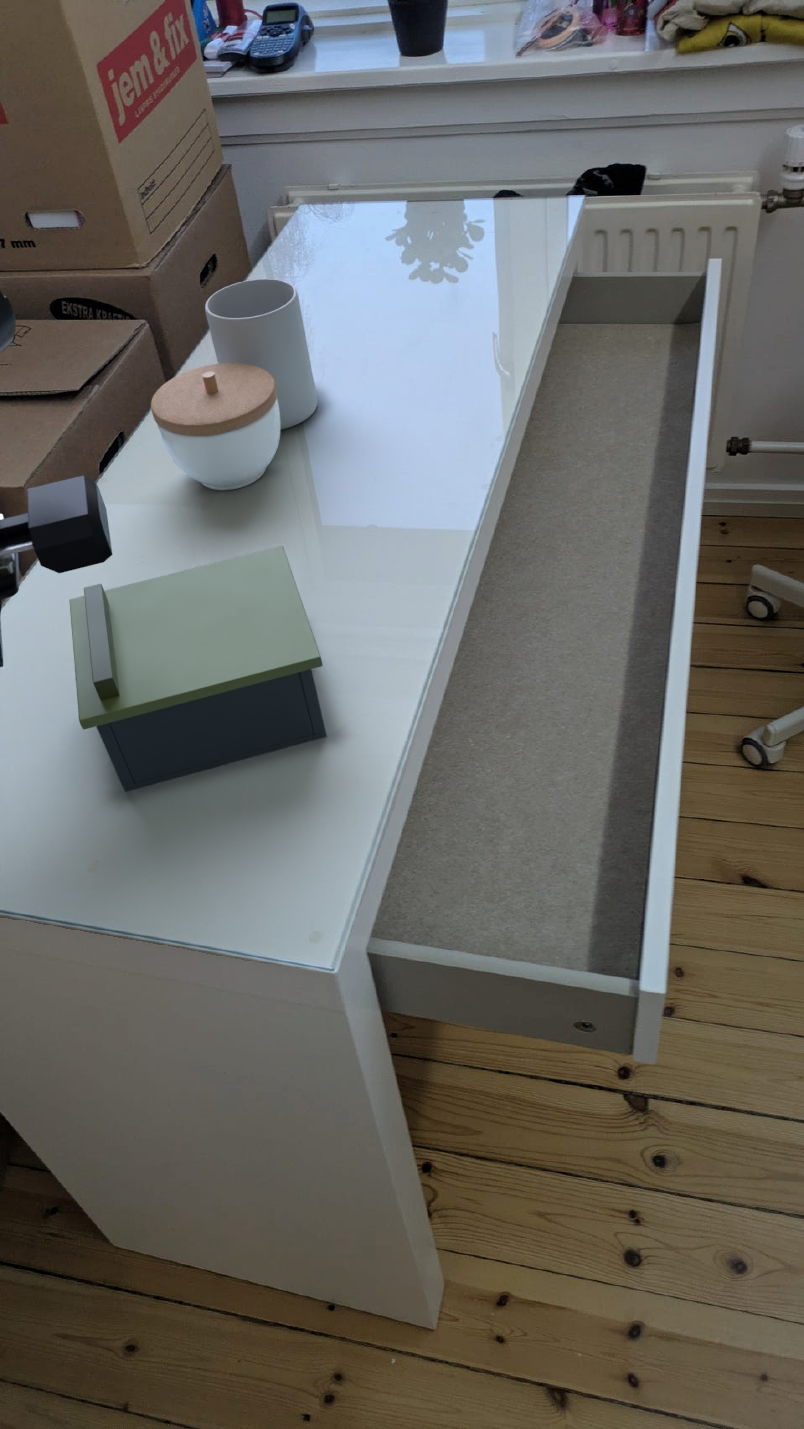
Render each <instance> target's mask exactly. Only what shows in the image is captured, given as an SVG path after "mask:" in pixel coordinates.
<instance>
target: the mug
mask: <svg viewBox="0 0 804 1429" xmlns="http://www.w3.org/2000/svg"><path fill="white" fill-rule="evenodd" d="M204 310H205V317H206V320H207V325H208V329H209V333H210V337H211V342H212V345H213V349H214V353H215V357H216V361H217V364H221V363H244V364H250V365H254V366H258V367H260V368H262V369H264V370H266V371H267V372H269V373H270V374H271V375H272V377H273V378H274V380H275V383H276V388H277V399H278V405H279V411H280V423H281V430H280V431H282V430H286V429H289V428H291V427H294V426H297V425H299V424H301V423H303V422H305V421H306V420H307V419H309V418H310V417H311V416H312V415H313V414H314V413H315V411H316V409H317V407H318V401H319V400H318V393H317V387H316V383H315V378H314V373H313V368H312V364H311V363H312V362H311V359H310V353H309V347H308V341H307V336H306V331H305V325H304V320H303V314H302V309H301V304H300V298H299V294H298V291H297V289H296V287H295V286H294V285H293V284H292V283H290V282H287V281H285V280H281V279H277V278H276V279H275V278H255V279H247V280H244V281H240V282H236V283H232V284H230V285H227V286H225V287H223V288H221V289H219V290H217V291H216V292H214V293H213V294H212V295H210V297H209V298H207V300H206V303H205V306H204Z"/></svg>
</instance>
